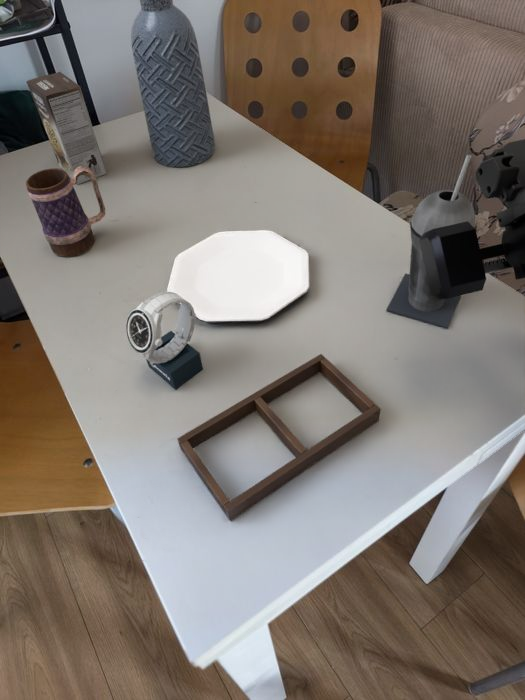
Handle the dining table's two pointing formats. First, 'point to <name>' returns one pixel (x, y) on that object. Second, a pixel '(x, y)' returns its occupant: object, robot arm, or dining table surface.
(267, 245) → the plate
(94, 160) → the coffee box
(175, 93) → the vase
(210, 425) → the frame
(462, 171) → the beverage cup
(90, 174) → the mug
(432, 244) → the robot arm
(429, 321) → the coaster
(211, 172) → the dining table surface
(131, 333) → the watch
